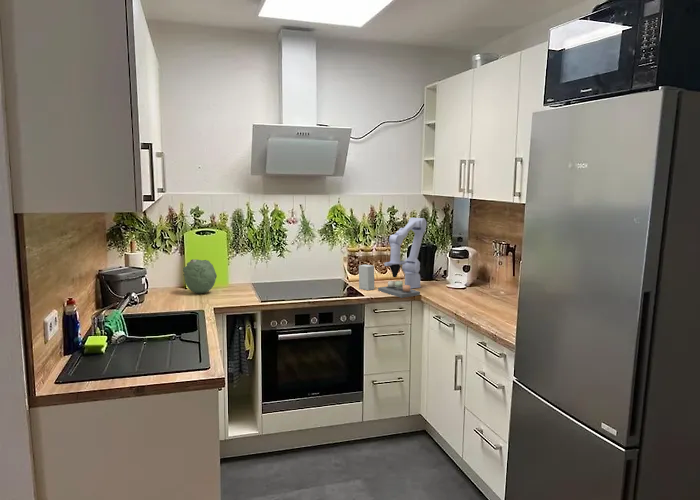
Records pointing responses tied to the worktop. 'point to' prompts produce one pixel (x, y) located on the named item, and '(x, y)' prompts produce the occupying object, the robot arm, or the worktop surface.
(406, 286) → the button terracotta
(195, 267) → the cabbage
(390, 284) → the button cream
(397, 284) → the button sage
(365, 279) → the skincare box
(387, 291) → the panel
